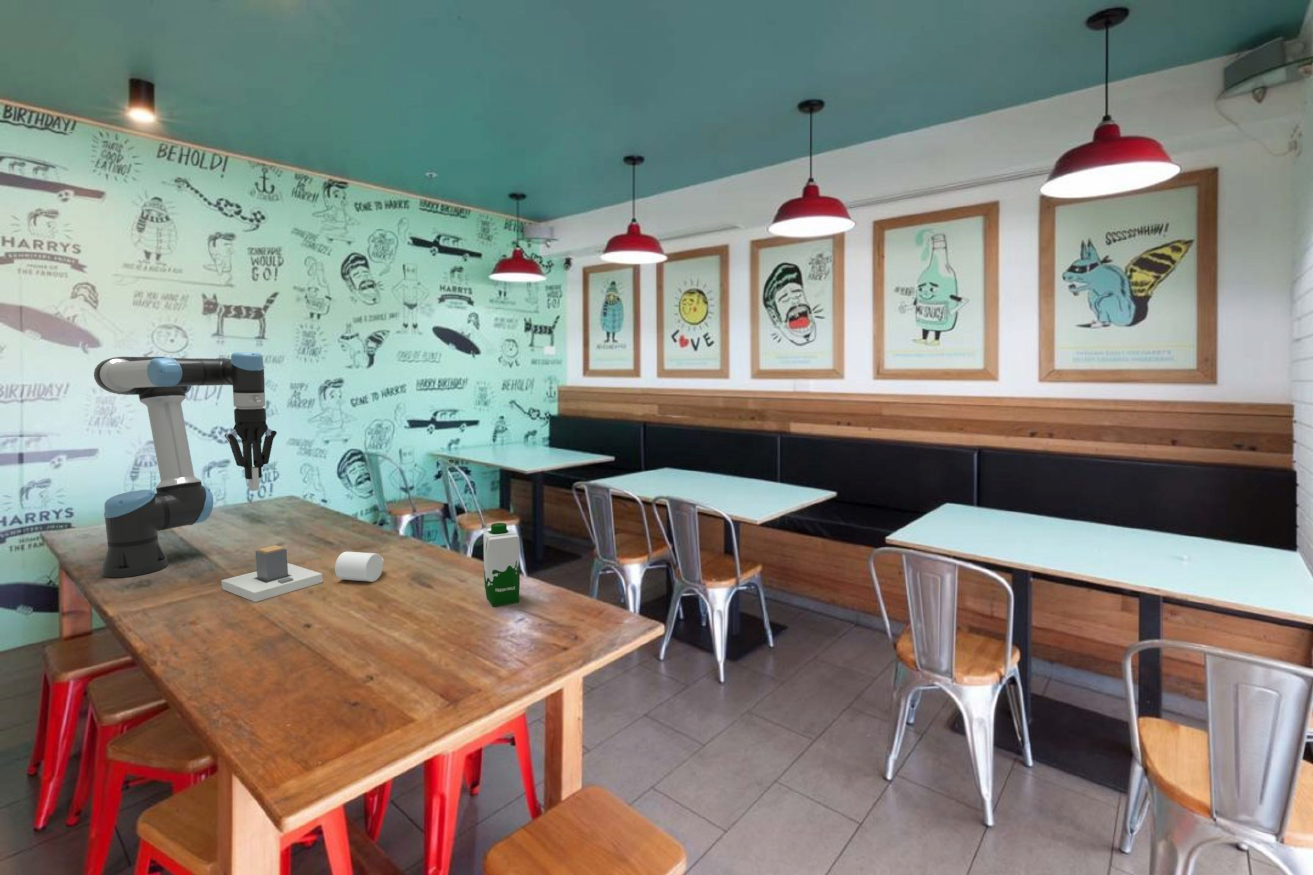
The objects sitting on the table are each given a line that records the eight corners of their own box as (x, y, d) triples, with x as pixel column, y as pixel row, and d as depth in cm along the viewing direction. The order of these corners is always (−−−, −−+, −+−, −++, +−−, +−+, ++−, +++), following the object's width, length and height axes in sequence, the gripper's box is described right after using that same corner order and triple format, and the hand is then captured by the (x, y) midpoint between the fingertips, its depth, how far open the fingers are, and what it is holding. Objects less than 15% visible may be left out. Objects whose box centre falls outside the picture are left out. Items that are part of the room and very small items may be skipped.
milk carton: (514, 592, 172) (513, 520, 169) (523, 603, 164) (522, 528, 161) (482, 597, 168) (480, 524, 165) (489, 609, 160) (487, 532, 157)
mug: (366, 585, 176) (365, 558, 176) (335, 583, 178) (333, 555, 177) (392, 572, 188) (391, 546, 187) (362, 569, 190) (361, 544, 189)
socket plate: (222, 588, 173) (221, 578, 173) (288, 571, 188) (288, 561, 188) (255, 602, 164) (254, 590, 163) (322, 582, 179) (322, 571, 178)
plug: (257, 585, 175) (255, 549, 174) (278, 579, 180) (275, 544, 178) (268, 589, 172) (265, 552, 171) (288, 583, 177) (286, 547, 176)
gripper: (230, 409, 169) (235, 495, 172) (280, 407, 180) (284, 488, 183) (217, 408, 173) (222, 491, 176) (267, 405, 184) (271, 484, 187)
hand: (254, 489), depth 179 cm, fingers closed
